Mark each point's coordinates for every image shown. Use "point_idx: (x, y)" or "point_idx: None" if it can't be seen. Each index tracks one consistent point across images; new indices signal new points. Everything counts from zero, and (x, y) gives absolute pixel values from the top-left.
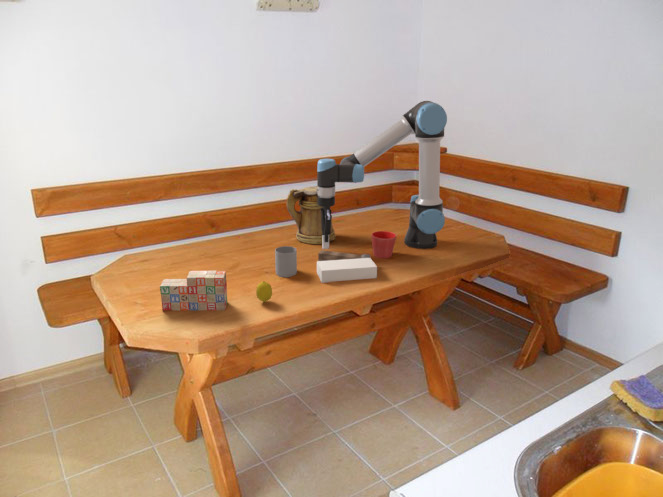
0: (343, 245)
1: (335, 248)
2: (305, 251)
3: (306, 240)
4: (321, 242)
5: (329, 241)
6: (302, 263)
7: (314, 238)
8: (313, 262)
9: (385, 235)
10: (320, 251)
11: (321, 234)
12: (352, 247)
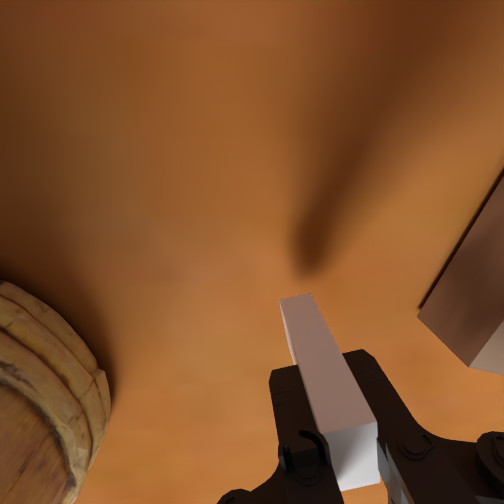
0: (49, 139)
1: (160, 221)
2: (249, 411)
3: (97, 452)
4: (75, 348)
5: (9, 285)
6: (451, 402)
7: (85, 427)
8: (451, 353)
9: None
10: (499, 371)
11: (18, 411)
12: (92, 24)
